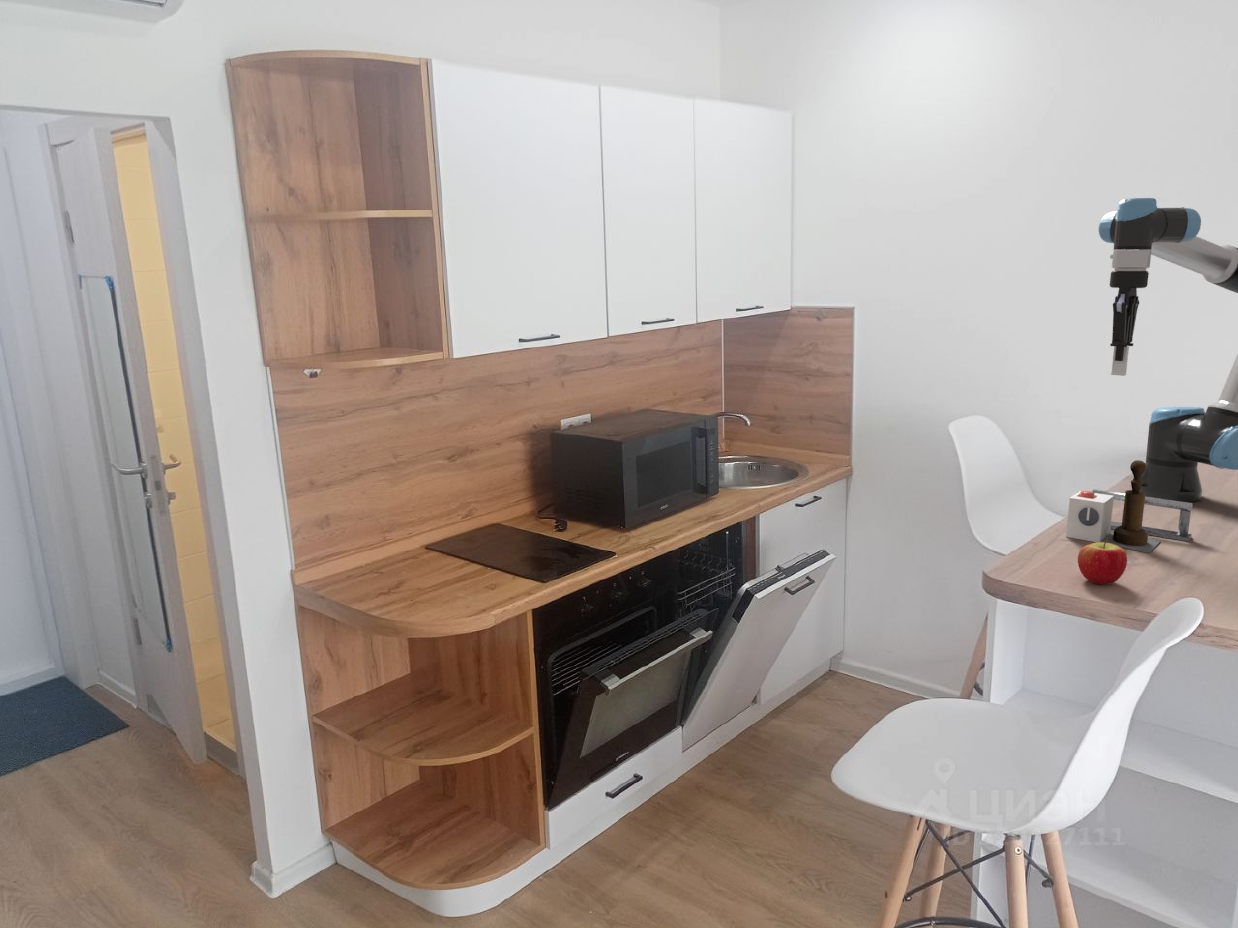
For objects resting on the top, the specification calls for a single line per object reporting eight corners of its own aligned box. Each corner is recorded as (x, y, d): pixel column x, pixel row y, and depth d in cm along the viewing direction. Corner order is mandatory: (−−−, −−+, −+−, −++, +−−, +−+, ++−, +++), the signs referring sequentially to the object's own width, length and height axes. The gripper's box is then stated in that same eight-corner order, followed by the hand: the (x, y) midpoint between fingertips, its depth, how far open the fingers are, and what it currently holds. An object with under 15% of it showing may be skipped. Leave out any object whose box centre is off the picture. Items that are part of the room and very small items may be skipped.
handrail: (1089, 520, 224) (1093, 487, 222) (1191, 537, 211) (1196, 501, 209) (1085, 524, 222) (1089, 490, 220) (1188, 541, 208) (1192, 505, 206)
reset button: (1080, 509, 214) (1082, 490, 213) (1093, 511, 212) (1095, 492, 211) (1076, 512, 212) (1078, 492, 211) (1090, 514, 210) (1092, 494, 209)
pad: (1110, 533, 214) (1111, 532, 214) (1160, 541, 208) (1160, 540, 208) (1098, 543, 207) (1098, 542, 207) (1149, 552, 201) (1149, 551, 200)
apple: (1088, 590, 179) (1094, 539, 177) (1068, 575, 187) (1072, 526, 185) (1132, 589, 179) (1138, 538, 177) (1109, 574, 187) (1115, 526, 185)
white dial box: (1076, 528, 218) (1080, 490, 216) (1109, 534, 214) (1113, 495, 212) (1064, 537, 211) (1068, 498, 210) (1098, 543, 207) (1102, 503, 205)
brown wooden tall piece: (1144, 538, 209) (1153, 458, 205) (1149, 547, 203) (1159, 465, 199) (1110, 535, 211) (1119, 456, 208) (1115, 544, 205) (1124, 463, 202)
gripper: (1119, 269, 220) (1108, 371, 225) (1103, 270, 210) (1092, 376, 215) (1155, 269, 215) (1143, 373, 220) (1141, 270, 205) (1129, 379, 211)
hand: (1118, 374), depth 218 cm, fingers closed
